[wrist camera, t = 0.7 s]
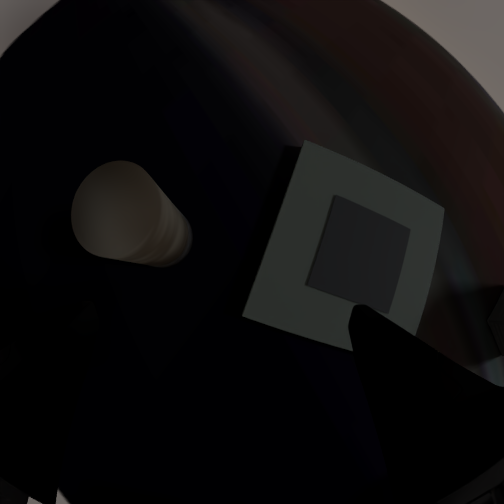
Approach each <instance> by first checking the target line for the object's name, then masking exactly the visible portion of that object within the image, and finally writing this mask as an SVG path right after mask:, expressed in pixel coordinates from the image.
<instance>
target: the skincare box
mask: <svg viewBox="0 0 504 504" xmlns="http://www.w3.org/2000/svg"><path fill="white" fill-rule="evenodd" d="M487 322H488V324H489V326H490V328H491V330H492V333H493V335H494V338H495V340H496V343H497V345H498V348H499V350H500V352H501V354H502V356H504V289H503V291H502V293H501V295H500V298H499V300H498V302H497V304H496V306H495V307H494V309H493V311H492V313H491V315H490V316H489V318H488V319H487Z"/></svg>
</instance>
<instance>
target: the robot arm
mask: <svg viewBox="0 0 504 504" xmlns="http://www.w3.org/2000/svg"><path fill="white" fill-rule="evenodd" d="M98 329H99V318H98V315H97V312H96V309H95V306H94V304H93V303H92V302H90V301H81V302H79V303H78V304H76V305H74V306H73V307H71V308H69V309H67V310H66V311H64V312H62V313H61V314H59V315H57V316H56V317H54V318H52V319H51V320H49V321H47V322H46V323H44V324H42V325H41V326H39V327H37V328H36V329H34V330H33V331H31V332H29V333H28V334H26V335H24V336H23V337H21V338H20V339H18V340H16V341H15V342H13V343H12V344H10V345H8V346H7V347H5V348H4V349H2V350H1V351H0V504H27V502H28V497H31V498H33V499H35V500H37V501H38V502H41V503H42V504H56V497H57V490H58V484H59V478H60V472H61V467H62V462H63V460H62V459H63V456H64V452H65V447H66V443H67V439H68V434H69V430H70V427H71V423H72V419H73V415H74V412H75V408H76V405H77V401H78V398H79V395H80V391H81V388H82V385H83V382H84V379H85V376H86V373H87V370H88V367H89V364H90V360H91V357H92V353H93V348H94V344H95V340H96V337H97V333H98ZM348 331H349V335H350V340H351V344H352V349H353V353H354V358H355V363H356V367H357V370H358V373H359V376H360V379H361V382H362V385H363V388H364V391H365V395H366V398H367V401H368V404H369V407H370V411H371V414H372V417H373V421H374V424H375V427H376V431H377V434H378V438H379V441H380V445H381V449H382V452H383V456H384V460H385V464H386V467H387V472H388V476H389V480H390V484H391V488H392V493H393V497H394V501H395V504H504V387H500V386H497V385H495V384H493V383H491V382H489V381H487V380H485V379H484V378H482V377H480V376H478V375H476V374H475V373H473V372H471V371H469V370H467V369H466V368H464V367H462V366H460V365H459V364H457V363H455V362H454V361H452V360H451V359H449V358H447V357H446V356H444V355H443V354H441V353H440V352H438V351H437V350H435V349H434V348H432V347H431V346H429V345H428V344H426V343H425V342H423V341H422V340H420V339H419V338H417V337H415V336H414V335H412V334H411V333H409V332H408V331H406V330H405V329H403V328H402V327H400V326H399V325H397V324H395V323H394V322H392V321H391V320H389V319H388V318H386V317H385V316H383V315H381V314H380V313H378V312H377V311H375V310H374V309H372V308H371V307H369V306H367V305H366V304H358V305H354V306H353V309H352V312H351V316H350V319H349V323H348ZM238 504H246V503H243V502H241V503H238Z"/></svg>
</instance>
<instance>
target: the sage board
mask: <svg viewBox="0 0 504 504" xmlns="http://www.w3.org/2000/svg"><path fill="white" fill-rule="evenodd" d="M443 216H444V208H443V207H441V206H439V205H438V204H436V203H434V202H433V201H431V200H429V199H428V198H426V197H424V196H422V195H421V194H419V193H417V192H415V191H413V190H412V189H410V188H408V187H406V186H404V185H402V184H401V183H399V182H397V181H395V180H393V179H391V178H389V177H387V176H385V175H383V174H381V173H379V172H377V171H375V170H373V169H371V168H369V167H367V166H365V165H363V164H360V163H358V162H356V161H354V160H352V159H349V158H347V157H345V156H343V155H340V154H338V153H336V152H333V151H331V150H329V149H326V148H324V147H322V146H319V145H317V144H314V143H312V142H309V141H306V140H305V141H304V143H303V145H302V147H301V150H300V153H299V156H298V158H297V161H296V164H295V167H294V170H293V173H292V176H291V178H290V181H289V184H288V187H287V190H286V193H285V196H284V198H283V201H282V204H281V207H280V210H279V213H278V215H277V218H276V221H275V224H274V227H273V229H272V232H271V235H270V238H269V241H268V243H267V246H266V249H265V252H264V254H263V257H262V260H261V263H260V266H259V268H258V271H257V274H256V277H255V279H254V282H253V285H252V288H251V290H250V293H249V296H248V299H247V301H246V304H245V307H244V309H243V312H242V316H243V317H246V318H249V319H252V320H255V321H257V322H260V323H263V324H266V325H269V326H272V327H275V328H278V329H281V330H284V331H287V332H290V333H294V334H297V335H300V336H303V337H306V338H310V339H313V340H316V341H319V342H323V343H326V344H329V345H333V346H336V347H340V348H343V349H347V350H350V351H353V349H352V344H351V340H350V335H349V331H348V323H349V319H350V316H351V312H352V309H353V306H354V305H358V304H366V305H367V306H369V307H371V308H372V309H374V310H375V311H377V312H378V313H380V314H381V315H383V316H385V317H386V318H388V319H389V320H391V321H392V322H394V323H395V324H397V325H399V326H400V327H402V328H403V329H405V330H406V331H408V332H409V333H411V334H412V335H414V336H415V335H416V332H417V329H418V326H419V323H420V320H421V316H422V313H423V310H424V306H425V303H426V299H427V295H428V292H429V288H430V284H431V280H432V276H433V271H434V267H435V262H436V257H437V252H438V247H439V242H440V236H441V230H442V223H443Z"/></svg>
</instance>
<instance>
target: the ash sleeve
mask: <svg viewBox="0 0 504 504" xmlns="http://www.w3.org/2000/svg"><path fill="white" fill-rule="evenodd" d="M71 221H72V227H73V231H74V234H75V236H76V238H77V240H78V242H79V243H80V244H81V246H82V247H83V248H84V249H86V250H87V251H88V252H90V253H92V254H94V255H96V256H99V257H105V258H110V259H116V260H122V261H128V262H133V263H139V264H145V265H149V266H153V267H160V268H168V267H172V266H175V265H177V264H178V263H180V262H181V261H182V260H184V258H185V257H186V256H187V255H188V253H189V251H190V249H191V246H192V242H193V232H192V228H191V225H190V223H189V222H188V220H187V219H186V218H185V216H184V215H183V214H182V213H181V212H180V211H179V210H178V209H177V208H176V207H175V206H174V204H173V203H172V202H171V201H170V200H169V199H168V197H167V196H166V195H165V194H164V193H163V191H162V190H161V189H160V188H159V187H158V185H157V184H156V183H155V182H154V181H153V179H152V178H151V177H150V176H149V175H148V173H147V172H146V171H145V170H144V169H143V168H141V167H140V166H138V165H136V164H134V163H132V162H128V161H113V162H109V163H106V164H104V165H102V166H100V167H98V168H96V169H95V170H94V171H92V172H91V173H90V174H89V175H88V176H87V177H86V178H85V179H84V181H83V182H82V183H81V185H80V186H79V188H78V190H77V192H76V194H75V197H74V200H73V204H72V211H71Z"/></svg>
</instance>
